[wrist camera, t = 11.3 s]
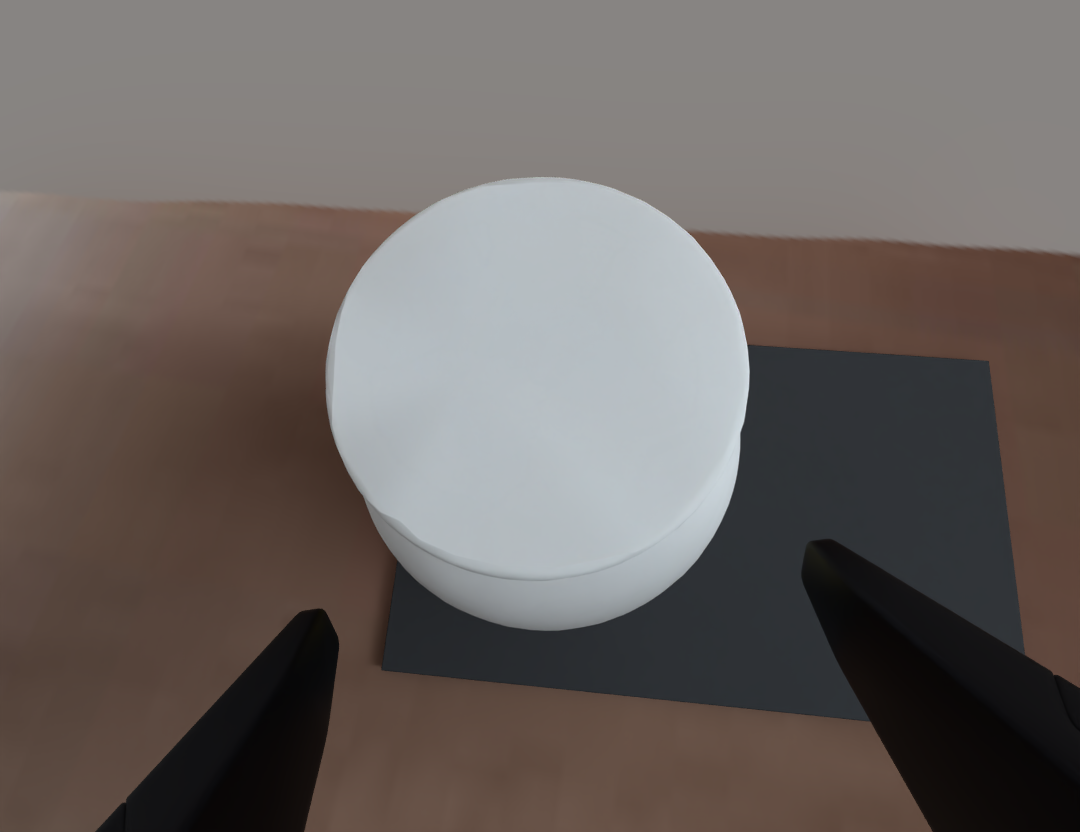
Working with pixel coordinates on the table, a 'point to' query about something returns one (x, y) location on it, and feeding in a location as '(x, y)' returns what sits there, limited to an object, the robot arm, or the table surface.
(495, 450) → the supplement bottle
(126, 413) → the table surface
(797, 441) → the desk mat
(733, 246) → the table surface
